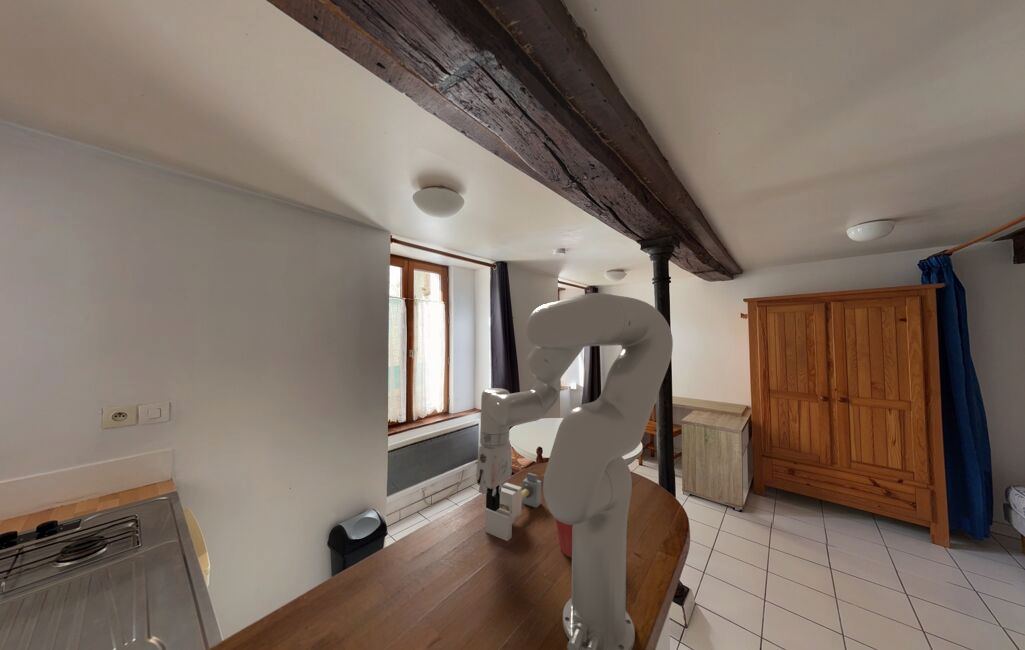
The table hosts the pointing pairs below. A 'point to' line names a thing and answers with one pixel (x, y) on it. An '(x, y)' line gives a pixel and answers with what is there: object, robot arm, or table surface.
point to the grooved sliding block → (511, 499)
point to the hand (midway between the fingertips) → (492, 508)
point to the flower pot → (565, 537)
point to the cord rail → (502, 518)
